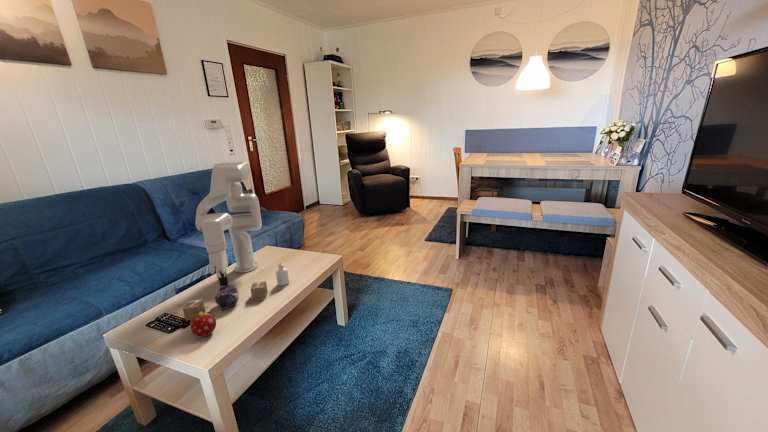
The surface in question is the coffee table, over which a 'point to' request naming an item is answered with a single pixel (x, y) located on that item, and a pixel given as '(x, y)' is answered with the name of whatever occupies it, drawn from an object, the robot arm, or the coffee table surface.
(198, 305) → the brown cube
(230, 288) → the mineral specimen
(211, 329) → the christmas ornament
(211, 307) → the coffee table surface
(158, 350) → the coffee table surface
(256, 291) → the walnut block
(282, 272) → the eye dropper bottle
